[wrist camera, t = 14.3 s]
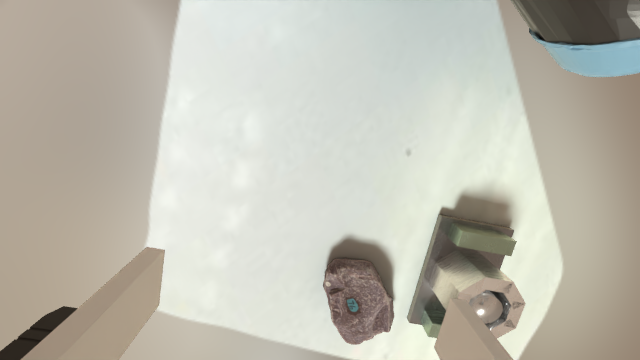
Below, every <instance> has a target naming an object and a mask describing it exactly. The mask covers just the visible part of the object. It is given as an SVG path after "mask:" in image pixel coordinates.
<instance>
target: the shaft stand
mask: <svg viewBox="0 0 640 360" xmlns="http://www.w3.org/2000/svg"><path fill="white" fill-rule="evenodd" d="M513 232H514V230H513V229H511V228H509V227H504V226H499V225H494V224H488V223H483V222H478V221H472V220H467V219H462V218H457V217H451V216H446V215H441V214H439V215H438V219H437V222H436V225H435V228H434V232H433V235H432V238H431V241H430V245H429V248H428V251H427V255H426V258H425V261H424V264H423V268H422V271H421V274H420V277H419V281H418V284H417V287H416V291H415V294H414V297H413V300H412V304H411V307H410V310H409V313H408V317H407V319H408V321H409V323H414V324H420V325H422V326H423V327H424V329H425V331H426V333H427V335H428V337H434V338H437V337H438V334H439V331H440V328H441V325H442V322H443V319H444V316H445V313H446V310H445V308H444V307H443V305H442V304H441V302H440V301H439V299H438V298H437V296H436V295H435V293H434V291H433V290H432V288H431V287H430V285H429V281H430V278H431V275H432V272H433V269H434V266H435V262H437V261H438V260H440V259H442V258H443V257H445V256H447V255H448V254H450V253H452V252H454V251H455V250H457V249H459V250H464V251H470V252H475V253H481V254H482V255H483V256H484V257H485V258H486V259H488V260H489V261H490V262H491V263H492V264H493V265H494V266H496V267H497V268H498V269H499V270H500V267H501V265H502V262H503V259H504V256H505V255H507V256H511V255H512V252H513V250H514V247H515V244H516V242H517V241H515V240H514V239H512V238H511V237H512V235H513ZM469 305H470V306H471V307H472V309H473V310H474V311H475V312H476V314H477V315H478V316H479V317H480V319H481V320H482V321H483V322H484V323H491V322H494V321H495V320H497V319H498V318H499V317H500V315H501V314H502V310H503V307H502V304H501V302H500V301H499V300H498V299H497V298H496V297H495V296H494V295H493V294H492V293H491V292H490V291H489V290H486V291H484V292H482V293H480V294H479V295H477V296H475V297H473V298H472V299H470V302H469Z"/></svg>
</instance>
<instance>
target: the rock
mask: <svg viewBox="0 0 640 360" xmlns="http://www.w3.org/2000/svg"><path fill="white" fill-rule="evenodd" d="M323 287H324V290H325V292H326V293H327V297H328V304H329V307H330V310H331V319H332V322H333V323H334V325H335V326H336V328H337V329H338V332H339V333H340V335H341V336H342V338H343V339H344V340H345V341H346V342H347V343H349V344H354V345H357V344H360V343H362V342H363V341H365V340H369V339H372V338H373V337H374V335H377V334H380V333H382V332H389V331H390V329H391V325H392V322H393V318H394V312H393V300H392V297H391V296H390V295H389V294H388V293H387V291H386V290H385V287H384V286H383V284H382V282H381V279H380V278H379V274H378V272H377V270H376V269H375V268H374V266H373V264H372V263H371V262H369V261H366V260H350V259H347V258H344V259H338V258H337V259H334V260H333V261H332V262H331V263H330V264H328V269H327V270H326V272H325V280H324V283H323Z"/></svg>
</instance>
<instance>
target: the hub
mask: <svg viewBox="0 0 640 360" xmlns="http://www.w3.org/2000/svg"><path fill="white" fill-rule="evenodd" d="M429 285H430V287H431V288H432V290H433V291H434V293H435V295H436V296H437V298H438V299H439V301H440V302H441V304H442V305H443V307H444V308H445V310H447V307H448V304H449V301H450V298H454V299H460V300H466V301H467V302H468V304H469V302H470V299H472V298H473V297H475V296H477V295H479V294H480V293H482V292H484V291H486V290H489V291H490V292H491V293H492V294H493V295H494V296H495V297H496V298H497V299H498V300H499V301H500V302H501V304H502V307H503V310H502V314H501V315H500V317H499V318H498V319H497V320H495V321H494V322H491V323H484V324H485V325H486V326H487V327H488V329H489V330H490V331H491V332H492V334H493V335H494V336H495V337H496V339H497V338H499V337H500V336H502V335H504V334H506V333H508V332H509V331H511V330H513V329H515V328H516V326H517V324H518V321H519V318H520V316H521V313H522V311H523V308H524V306H525V302H524V300H523V298H522V296H521V295H520V293H519V291H518V289H517V288H516V286H515V284H514V282H513V281H512V280H510V279H509V278H508V277H507V276H506V275H505V274H504V273H502V272H501V271H500V270H499V269H498V268H497V267H496V266H494V265H493V264H492V263H491V262H490V261H489V260H488V259H486V258H485V257H484V256H483V255H482V254H481V253H475V252H470V251H464V250H459V249H457V250H455V251H454V252H452V253H450V254H448V255H447V256H445V257H443V258H442V259H440V260H438V261H437V262H435V266H434V269H433V272H432V275H431V278H430V281H429Z"/></svg>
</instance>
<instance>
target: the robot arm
mask: <svg viewBox="0 0 640 360" xmlns="http://www.w3.org/2000/svg"><path fill="white" fill-rule="evenodd" d="M511 1H512V3H513V4H514V6H515V7H516V9H517V10H518V12H519V13H520V15H521V16H522V18H523V19H524V21H525V22H526V23H527V25H528V27H529V32H530V34H531V35H532V37H533V38H534V39H535V40H536V41H537V42H539V43H541V44H542V45H543V46H544V47H545V48H546V50H547V51H548V52H549V53H550V55H551V56H552V57H553V58H554V59H555V61H556V62H557V63H558V65H559V66H561V67H562V68H564V69H565V70H567V71H570V72H575V73H577V74H580V75H583V76H590V77H613V76H623V75H630V74H635V73H640V0H511ZM164 253H165V250H162V249H156V248H150V247H146V248H145V249H144V250H143V251H142V252H141V253H139V254H138V255H137V256H136V257H135V258H134V259H133V260H132V261H131V262H129V263H128V264H127V265H126V266H125V267H124V268H123V269H122V270H120V271H119V272H118V273H117V274H116V275H115V276H114V277H113V278H111V280H109V281H108V282H107V283H106V284H105V285H104V286H103V287H101V289H99V290H98V291H97V292H96V293H95V294H94V295H93V296H91V297H90V298H89V299H88V300H87V301H86V302H85V303H83V304H82V305H81V306H80V307H79V308H71V307H65V306H63V307H61V308H59V309H57V310H55V311H53V312H51V313H49V314H47V315H45V316H44V317H42V318H41V319H40V320H39V321H37V322H36V323H35V324H34V325H32V326H31V327H30V329H29V330H26V331H25V332H24V333H22V334H21V335H20V336H19V337H18V339H17V340H14V341H13V342H12V343H10V344H9V345H8V346H6V347H5V348H4V349H3V350H1V351H0V360H119V359H120V357H121V356H122V355H123V353H124V352H125V351H126V349H127V348H128V346H129V345H130V344H131V342H132V341H133V340H134V338H135V337H136V336H137V334H138V333H139V332H140V330H141V329H142V327H143V326H144V325H145V323H146V322H147V321H148V319H149V318H150V317H151V315H152V314H153V313H154V311H155V310H156V309H157V307H158V306H159V301H160V291H161V282H162V272H163V262H164ZM434 348H435V350H436V352H437V354H438V356H439V358H440V360H513V359H512V357H511V356H510V355H509V354H508V352H507V351H506V350H505V349H504V347H503V346H502V345H501V344H500V342H499V341H498V340H497V339H496V337H495V336H494V335H493V334H492V332H491V331H490V330H489V329H488V327H487V326H486V325H485V324H484V322H483V321H482V320H481V319H480V317H479V316H478V315H477V314H476V312H475V311H474V310H473V309H472V307H471V306H470V305H469V304H468V302H467V301H466V300H460V299H454V298H450V301H449V304H448V307H447V310H446V313H445V316H444V319H443V322H442V325H441V328H440V331H439V334H438V337H437V340H436V343H435V346H434Z"/></svg>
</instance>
